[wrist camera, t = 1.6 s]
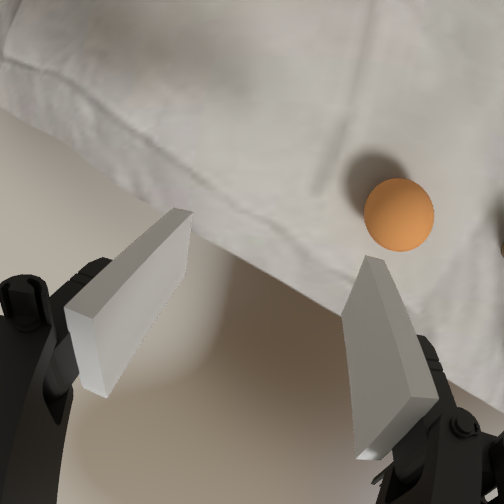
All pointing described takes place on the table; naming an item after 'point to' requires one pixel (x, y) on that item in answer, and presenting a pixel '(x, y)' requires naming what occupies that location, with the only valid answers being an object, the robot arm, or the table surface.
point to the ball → (399, 214)
